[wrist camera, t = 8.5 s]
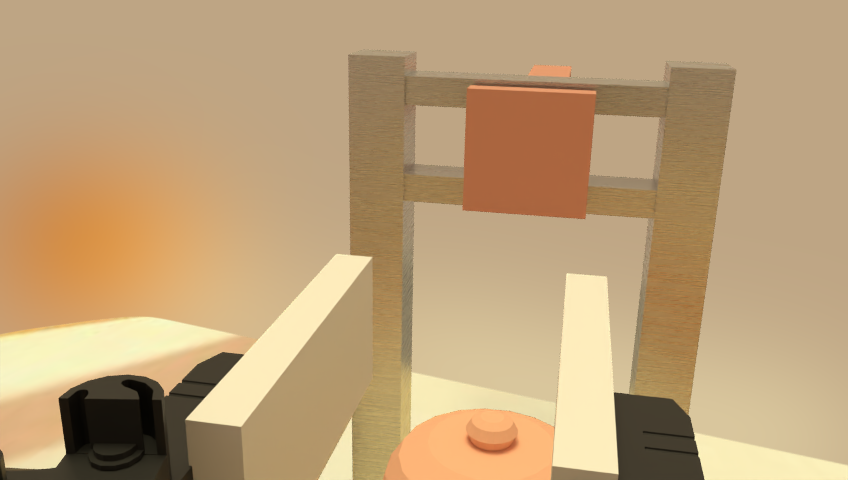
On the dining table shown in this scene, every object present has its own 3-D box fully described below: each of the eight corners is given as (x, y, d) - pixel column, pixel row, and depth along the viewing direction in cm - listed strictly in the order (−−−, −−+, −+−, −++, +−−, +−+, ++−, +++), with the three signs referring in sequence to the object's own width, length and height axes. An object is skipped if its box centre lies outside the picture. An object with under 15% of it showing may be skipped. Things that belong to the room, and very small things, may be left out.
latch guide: (653, 663, 40) (736, 69, 31) (354, 613, 43) (348, 54, 34) (650, 626, 42) (726, 63, 33) (365, 581, 45) (363, 49, 36)
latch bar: (585, 219, 32) (596, 94, 31) (462, 210, 33) (466, 88, 32) (587, 123, 53) (593, 46, 52) (511, 120, 54) (515, 44, 53)
